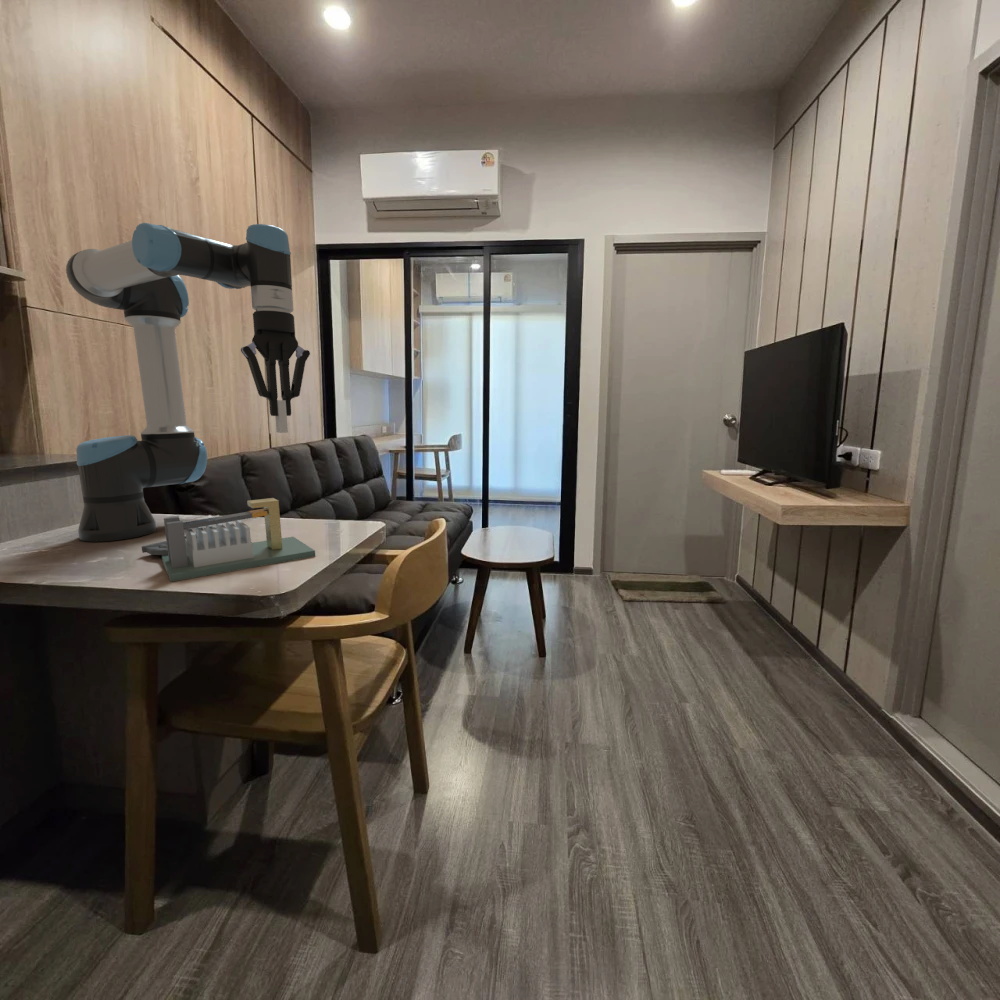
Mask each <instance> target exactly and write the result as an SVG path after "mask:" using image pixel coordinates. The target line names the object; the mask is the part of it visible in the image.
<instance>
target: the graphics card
mask: <svg viewBox="0 0 1000 1000" xmlns="http://www.w3.org/2000/svg"><path fill="white" fill-rule="evenodd" d="M213 527H214V526H213ZM214 528H215V529H216V526H215V527H214ZM203 529H204V530H205V531H206V527H203ZM216 530H217V529H216ZM206 533H207V531H206ZM184 536H185V541H186V535H184ZM196 539H197V535H196ZM185 545H186V542H185ZM141 553H143V554H145V553H147V554H149V555H151V556H153V555H154V556H161V557H162V556H168V549H167V541H166V540H162V541H159V542H155V543H151V544H146V545H142V546H141ZM186 553H187V551H186Z"/></svg>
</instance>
